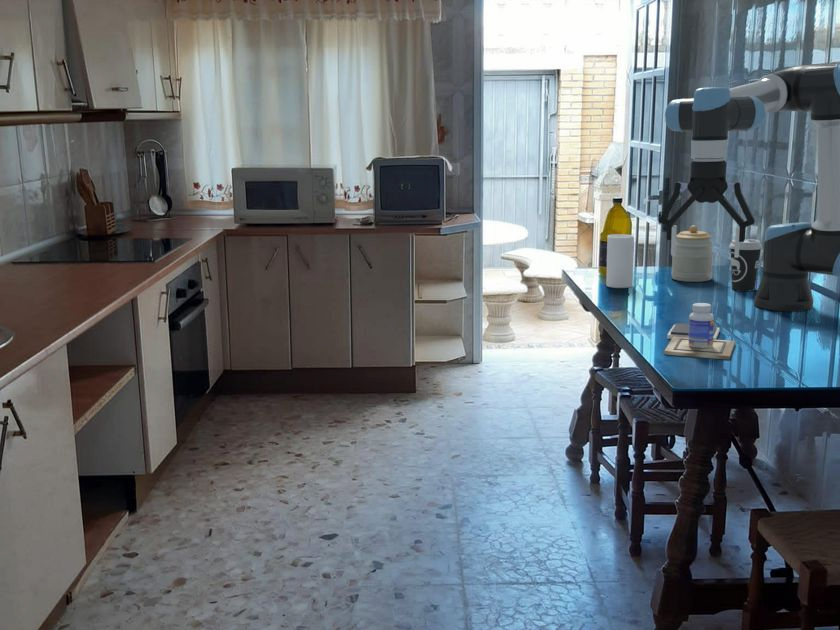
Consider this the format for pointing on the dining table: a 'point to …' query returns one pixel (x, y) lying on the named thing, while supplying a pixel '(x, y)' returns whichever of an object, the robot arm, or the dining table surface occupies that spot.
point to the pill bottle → (701, 326)
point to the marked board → (700, 349)
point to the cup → (620, 260)
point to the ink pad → (686, 331)
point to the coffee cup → (745, 264)
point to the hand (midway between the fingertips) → (704, 255)
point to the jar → (693, 256)
